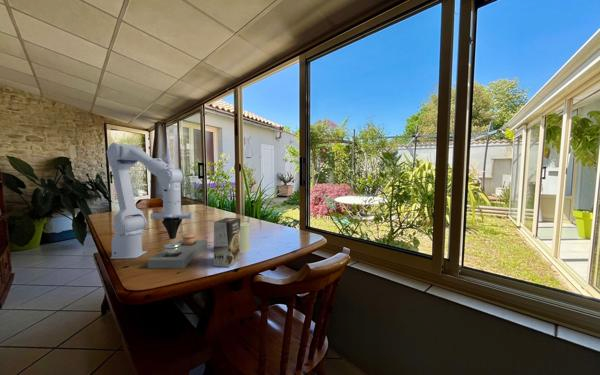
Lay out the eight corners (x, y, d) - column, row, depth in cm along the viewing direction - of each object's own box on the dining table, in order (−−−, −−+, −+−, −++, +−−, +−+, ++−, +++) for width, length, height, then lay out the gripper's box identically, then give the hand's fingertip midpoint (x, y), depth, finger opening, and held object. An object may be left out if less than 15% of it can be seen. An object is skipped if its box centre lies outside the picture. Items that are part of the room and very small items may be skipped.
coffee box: (229, 267, 85) (229, 222, 85) (213, 266, 87) (212, 221, 86) (241, 259, 94) (241, 217, 94) (225, 257, 96) (225, 217, 95)
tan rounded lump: (179, 246, 101) (179, 236, 101) (185, 242, 106) (185, 233, 106) (192, 246, 101) (192, 236, 101) (197, 242, 106) (197, 233, 106)
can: (252, 247, 109) (252, 221, 109) (244, 254, 100) (244, 225, 100) (233, 246, 111) (233, 220, 110) (223, 252, 102) (223, 224, 101)
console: (147, 268, 84) (147, 259, 84) (180, 247, 109) (180, 240, 109) (183, 268, 85) (182, 259, 84) (207, 246, 109) (207, 240, 109)
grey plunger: (162, 257, 87) (161, 246, 87) (169, 252, 92) (169, 242, 92) (176, 257, 87) (176, 246, 87) (183, 252, 92) (183, 242, 92)
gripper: (145, 202, 84) (146, 241, 85) (187, 202, 85) (188, 241, 86) (156, 200, 91) (157, 236, 92) (195, 200, 92) (195, 236, 93)
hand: (172, 238), depth 89 cm, fingers closed
